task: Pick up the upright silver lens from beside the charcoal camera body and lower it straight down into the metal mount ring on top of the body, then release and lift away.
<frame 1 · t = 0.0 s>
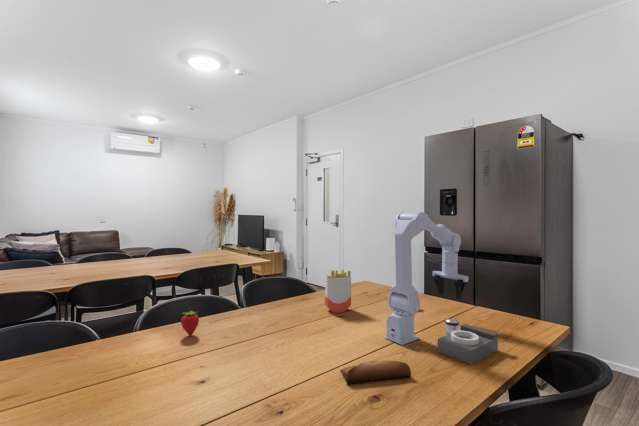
hand: (449, 296, 134), 10 cm above the table, tool pointing down, fingers open, 7 cm apart
onion: (407, 308, 153), on the table
strawberry: (190, 336, 119), on the table
lens: (452, 334, 121), on the table
french fries container: (337, 310, 149), on the table
camera body: (467, 351, 107), on the table
sunglasses case: (373, 377, 92), on the table
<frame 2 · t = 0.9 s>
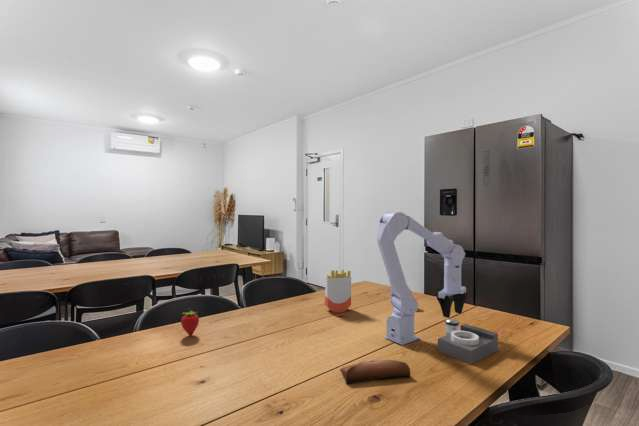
hand: (452, 314, 121), 7 cm above the table, tool pointing down, fingers open, 7 cm apart
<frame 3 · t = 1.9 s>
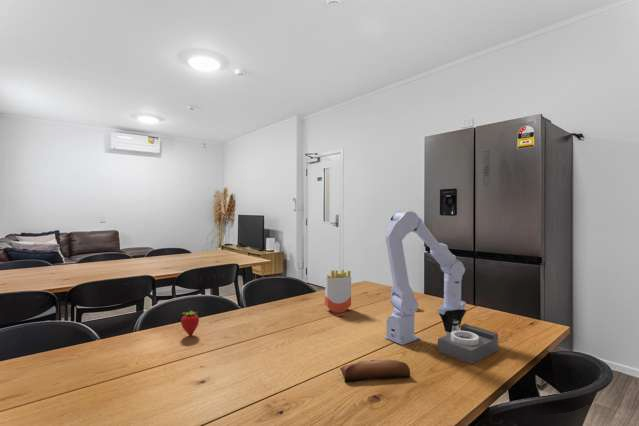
hand: (452, 330, 121), 1 cm above the table, tool pointing down, fingers closed on lens, 4 cm apart
lens: (452, 334, 121), on the table, touching gripper
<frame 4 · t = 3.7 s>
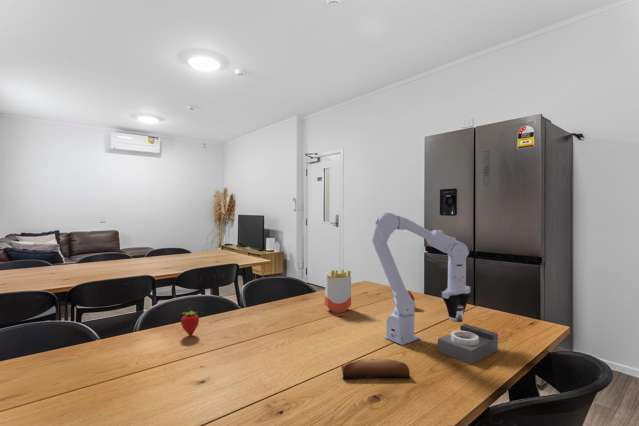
hand: (456, 315, 116), 8 cm above the table, tool pointing down, fingers closed on lens, 4 cm apart
lens: (456, 320, 116), point 7 cm above the table, touching gripper
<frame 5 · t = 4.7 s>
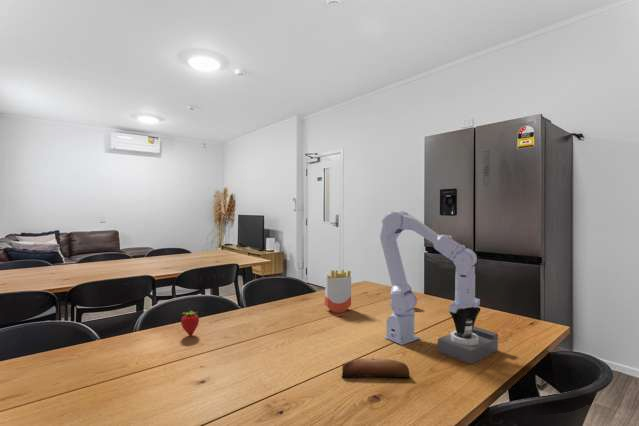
hand: (464, 331, 106), 7 cm above the table, tool pointing down, fingers closed on lens, 4 cm apart
lens: (464, 335, 106), point 5 cm above the table, touching gripper
when the fingers open (6 cm above the table, at t = 5.3 s): lens stays where it is, resting on camera body.
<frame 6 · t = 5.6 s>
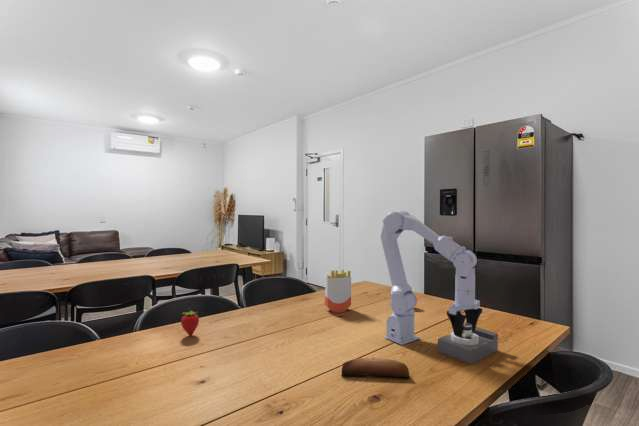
hand: (464, 332, 106), 6 cm above the table, tool pointing down, fingers open, 7 cm apart
lens: (464, 339, 106), point 4 cm above the table, touching camera body
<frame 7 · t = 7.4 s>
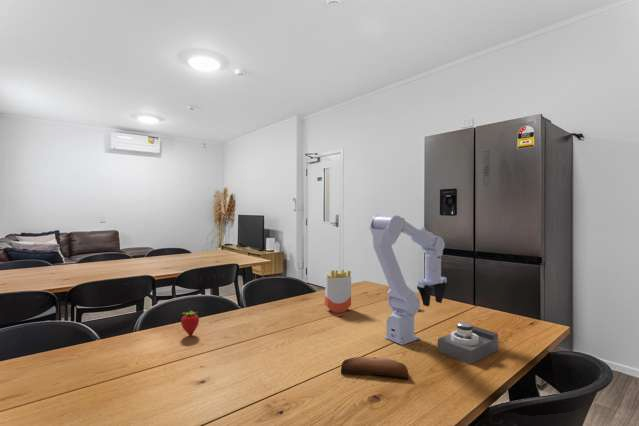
hand: (432, 303, 126), 9 cm above the table, tool pointing down, fingers open, 7 cm apart
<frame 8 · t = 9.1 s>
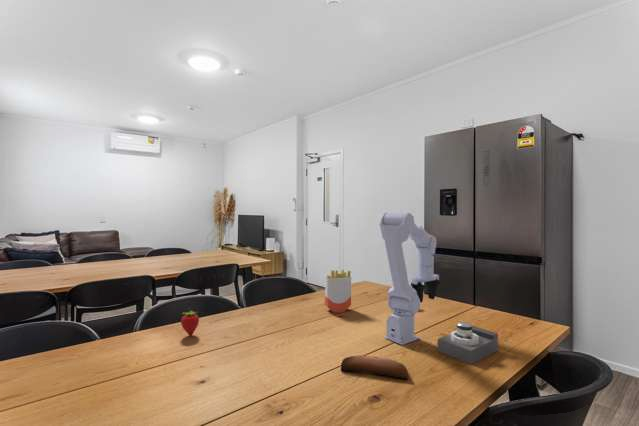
hand: (425, 300, 131), 9 cm above the table, tool pointing down, fingers open, 7 cm apart
at the end: lens 0.1 cm from the target spot on the camera body, point 4.0 cm above the camera body's base; lens tilted 0°; the gripper is holding nothing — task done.
